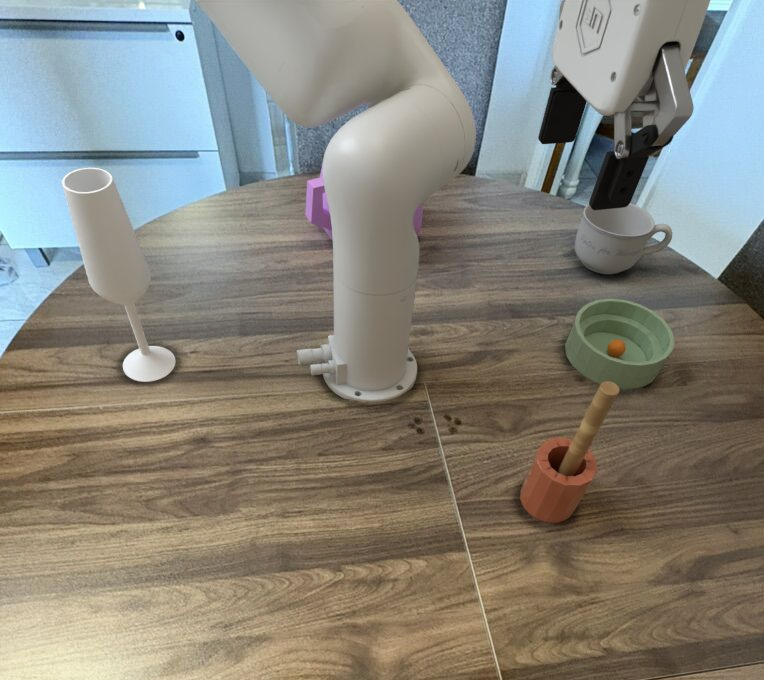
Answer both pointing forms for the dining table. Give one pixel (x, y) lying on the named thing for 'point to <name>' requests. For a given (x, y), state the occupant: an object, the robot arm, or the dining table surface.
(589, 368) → the bowl
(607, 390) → the stick
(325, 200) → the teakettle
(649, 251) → the teacup
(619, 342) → the bead
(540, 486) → the holder
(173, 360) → the champagne flute
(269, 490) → the dining table surface
